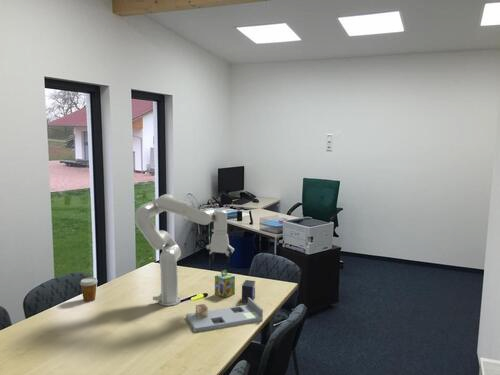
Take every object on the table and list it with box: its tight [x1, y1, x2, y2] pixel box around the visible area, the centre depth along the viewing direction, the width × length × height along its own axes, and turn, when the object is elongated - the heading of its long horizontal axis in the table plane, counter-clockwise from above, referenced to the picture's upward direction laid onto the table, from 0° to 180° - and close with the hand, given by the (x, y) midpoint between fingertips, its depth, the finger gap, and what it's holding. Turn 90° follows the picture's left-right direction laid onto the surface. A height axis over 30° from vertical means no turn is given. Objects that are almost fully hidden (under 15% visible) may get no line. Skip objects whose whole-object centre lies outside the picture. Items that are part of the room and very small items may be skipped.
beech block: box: [195, 303, 209, 318], centre depth 208 cm, size 5×5×5 cm
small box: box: [241, 279, 256, 304], centre depth 235 cm, size 11×6×10 cm, turn 168°
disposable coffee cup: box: [79, 277, 99, 303], centre depth 233 cm, size 10×10×12 cm
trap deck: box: [185, 298, 264, 333], centre depth 208 cm, size 36×18×6 cm, turn 113°
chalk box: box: [214, 269, 236, 298], centre depth 244 cm, size 9×9×15 cm
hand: (219, 261), depth 227 cm, fingers open, 9 cm apart
